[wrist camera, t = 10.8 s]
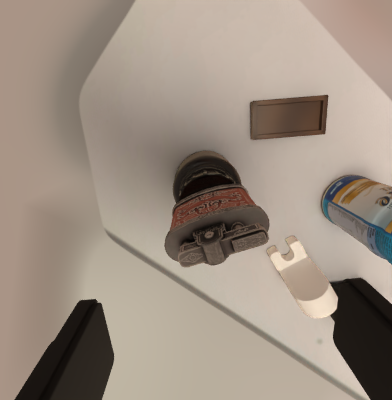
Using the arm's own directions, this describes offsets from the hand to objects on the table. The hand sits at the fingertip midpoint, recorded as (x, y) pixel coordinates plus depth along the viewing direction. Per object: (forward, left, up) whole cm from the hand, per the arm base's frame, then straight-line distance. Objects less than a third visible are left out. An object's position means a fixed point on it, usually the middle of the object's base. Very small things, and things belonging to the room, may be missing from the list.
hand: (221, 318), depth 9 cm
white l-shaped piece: (+15, -17, -28) cm, 36 cm away
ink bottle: (+1, -1, -28) cm, 28 cm away
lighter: (+1, -1, -16) cm, 16 cm away
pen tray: (+13, +7, -28) cm, 32 cm away
